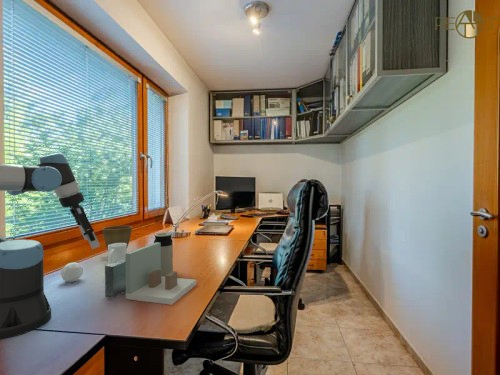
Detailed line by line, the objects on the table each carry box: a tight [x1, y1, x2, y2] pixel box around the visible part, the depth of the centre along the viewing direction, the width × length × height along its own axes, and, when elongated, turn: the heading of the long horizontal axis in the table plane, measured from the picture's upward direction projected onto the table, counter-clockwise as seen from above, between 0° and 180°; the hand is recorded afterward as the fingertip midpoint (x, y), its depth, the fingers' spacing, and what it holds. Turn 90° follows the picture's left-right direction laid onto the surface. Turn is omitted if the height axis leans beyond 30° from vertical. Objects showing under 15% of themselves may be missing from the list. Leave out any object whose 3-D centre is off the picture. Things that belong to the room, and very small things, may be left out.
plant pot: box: [102, 225, 133, 251], centre depth 149 cm, size 15×15×16 cm
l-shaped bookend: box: [125, 242, 197, 306], centre depth 99 cm, size 18×18×16 cm
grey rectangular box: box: [104, 260, 126, 298], centre depth 98 cm, size 8×4×11 cm, turn 165°
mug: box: [107, 243, 128, 265], centre depth 129 cm, size 12×8×10 cm
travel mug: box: [153, 232, 174, 277], centre depth 118 cm, size 8×8×18 cm
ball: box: [60, 261, 84, 283], centre depth 110 cm, size 8×8×8 cm
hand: (92, 242), depth 106 cm, fingers open, 13 cm apart
